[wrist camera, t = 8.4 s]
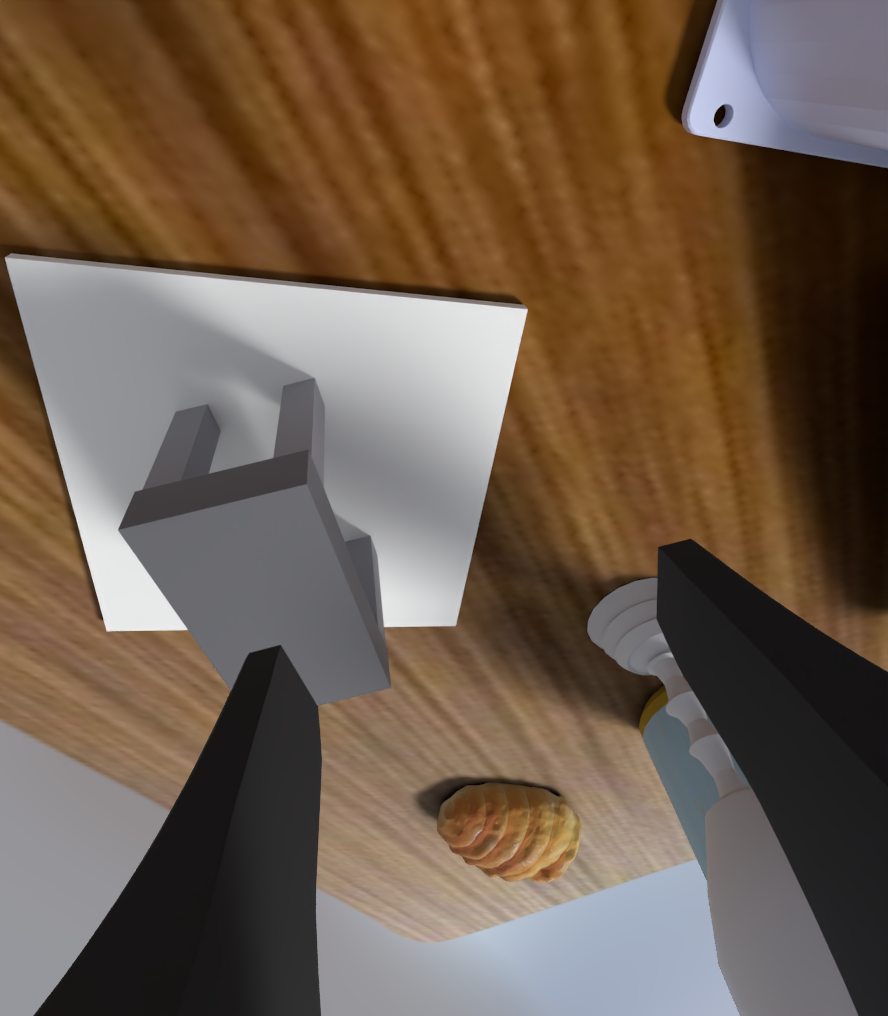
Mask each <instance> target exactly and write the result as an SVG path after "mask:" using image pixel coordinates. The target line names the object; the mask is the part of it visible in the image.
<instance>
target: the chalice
mask: <svg viewBox="0 0 888 1016" xmlns="http://www.w3.org/2000/svg"><path fill="white" fill-rule="evenodd" d="M656 615H657V578H648V579H643V580H638V581H634V582H632V583H629V584H627V585H624V586H622V587H619V588H618V589H616V590H615V591H613V592H612V593H610V594H609V595H607V596H606V597H604V598H603V599H602V600H601V602H600V603H599V604H598V605H597V606H596V607H595V608H594V609H593V611H592V613H591V615H590V617H589V619H588V628H587V632H588V634H589V636H590V638H591V641H592V642H594V643H595V644H596V645H598V646H599V647H600V648H602V649H604V651H605V653H606V654H608V655H609V656H610V657H611V658H613V659H614V660H616V661H617V663H618V664H619V665H620V666H621V667H623V668H624V669H626V670H628V671H631V672H633V673H636V674H639V675H654V676H658V678H659V679H660V680H661V681H662V682H663V684H664V685H665V688H666V691H667V695H668V699H669V701H668V703H667V705H666V712H667V714H669V715H670V716H673V717H676V718H678V719H679V720H680V721H681V722H682V723H683V724H684V725H685V726H686V727H687V728H688V733H689V737H690V742H691V743H690V749H689V753H690V755H692V756H693V757H695V758H697V759H699V760H700V761H701V762H702V764H703V765H704V766H705V768H706V769H707V770H708V771H709V773H710V774H711V775H712V777H713V778H714V780H715V783H716V786H717V790H718V793H719V796H720V799H719V800H718V801H717V802H716V803H714V804H713V805H712V806H711V808H710V809H709V810H708V811H707V812H706V816H705V834H706V860H707V885H708V898H709V905H710V912H711V918H712V924H713V931H714V938H715V944H716V950H717V957H718V964H719V967H720V969H721V972H722V974H723V976H724V979H725V981H726V983H727V986H728V988H729V990H730V993H731V995H732V998H733V1000H734V1002H735V1004H736V1007H737V1009H738V1012H739V1014H740V1016H858V1013H857V1011H856V1009H855V1006H854V1004H853V1002H852V999H851V997H850V995H849V992H848V990H847V988H846V985H845V983H844V981H843V978H842V976H841V974H840V972H839V970H838V967H837V965H836V963H835V961H834V958H833V956H832V954H831V952H830V950H829V947H828V945H827V943H826V941H825V938H824V936H823V934H822V932H821V930H820V927H819V925H818V923H817V921H816V919H815V916H814V914H813V912H812V910H811V908H810V906H809V903H808V901H807V899H806V897H805V895H804V893H803V891H802V889H801V887H800V884H799V882H798V880H797V878H796V876H795V874H794V872H793V870H792V868H791V865H790V863H789V861H788V859H787V857H786V855H785V853H784V851H783V849H782V847H781V845H780V843H779V841H778V839H777V837H776V835H775V833H774V831H773V829H772V827H771V825H770V823H769V821H768V819H767V817H766V815H765V812H764V810H763V808H762V806H761V804H760V802H759V800H758V799H757V797H756V795H755V793H754V792H753V790H752V788H751V787H749V786H748V785H747V784H746V783H745V781H744V780H743V779H742V778H741V776H740V775H739V774H738V773H737V772H736V770H735V768H734V765H733V762H732V759H731V756H730V753H729V750H728V748H727V746H726V745H725V743H724V741H723V740H722V738H721V736H720V735H719V733H718V732H717V730H716V729H715V728H714V727H713V726H712V725H711V724H710V723H709V722H708V720H707V716H706V712H705V710H704V709H703V707H702V706H701V704H700V702H699V701H698V699H697V697H696V696H695V694H694V692H693V691H692V689H691V687H690V686H689V684H688V682H687V681H686V680H685V679H684V678H683V675H682V672H681V671H680V669H679V667H678V665H677V663H676V661H675V659H674V657H673V655H672V652H671V650H670V648H669V646H668V644H667V642H666V639H665V637H664V635H663V633H662V630H661V628H660V626H659V624H658V622H657V619H656Z"/></svg>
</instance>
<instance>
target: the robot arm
mask: <svg viewBox="0 0 888 1016" xmlns="http://www.w3.org/2000/svg"><path fill="white" fill-rule="evenodd" d="M722 105H724V106H725V109H726V112H725V117H724V119H723V121H722V122H721V123H720V124H719V125H717V126H715V123H714V114H715V113H716V111H717V109H718V108H719V107H720V106H722ZM682 124H683V127H684V128H685V129H686V131H687V132H689V133H691V134H694V135H699V136H705V137H710V138H716V139H722V140H728V141H734V142H739V143H745V144H751V145H757V146H763V147H768V148H774V149H780V150H786V151H792V152H798V153H803V154H809V155H815V156H821V157H827V158H832V159H838V160H844V161H850V162H856V163H861V164H867V165H873V166H879V167H885V168H888V0H717V3H716V6H715V9H714V12H713V16H712V19H711V22H710V25H709V28H708V31H707V34H706V38H705V41H704V44H703V47H702V50H701V53H700V57H699V60H698V63H697V66H696V69H695V72H694V75H693V79H692V82H691V85H690V88H689V91H688V94H687V98H686V101H685V104H684V107H683V111H682ZM656 619H657V622H658V624H659V626H660V628H661V630H662V633H663V635H664V637H665V639H666V642H667V644H668V646H669V648H670V650H671V652H672V655H673V657H674V659H675V661H676V663H677V665H678V667H679V669H680V671H681V672H682V674H683V676H684V677H685V679H686V681H687V682H688V684H689V686H690V687H691V689H692V691H693V692H694V694H695V696H696V697H697V699H698V701H699V702H700V704H701V706H702V707H703V709H704V710H705V712H706V714H707V715H708V717H709V719H710V720H711V722H712V723H713V725H714V727H715V728H716V730H717V732H718V733H719V735H720V736H721V738H722V740H723V741H724V743H725V745H726V746H727V748H728V749H729V751H730V753H731V754H732V756H733V758H734V759H735V761H736V763H737V764H738V766H739V767H740V769H741V771H742V772H743V774H744V776H745V777H746V779H747V781H748V783H749V784H750V786H751V788H752V790H753V792H754V793H755V795H756V797H757V799H758V800H759V802H760V804H761V806H762V808H763V810H764V812H765V815H766V817H767V819H768V821H769V823H770V825H771V827H772V829H773V831H774V833H775V835H776V837H777V839H778V841H779V843H780V845H781V847H782V849H783V851H784V853H785V855H786V857H787V859H788V861H789V863H790V865H791V868H792V870H793V872H794V874H795V876H796V878H797V880H798V882H799V884H800V887H801V889H802V891H803V893H804V895H805V897H806V899H807V901H808V903H809V906H810V908H811V910H812V912H813V914H814V916H815V919H816V921H817V923H818V925H819V927H820V930H821V932H822V934H823V936H824V938H825V941H826V943H827V945H828V947H829V950H830V952H831V954H832V956H833V958H834V961H835V963H836V965H837V967H838V970H839V972H840V974H841V976H842V978H843V981H844V983H845V985H846V988H847V990H848V992H849V995H850V997H851V999H852V1002H853V1004H854V1006H855V1009H856V1011H857V1013H858V1016H888V672H887V671H885V670H883V669H882V668H880V667H878V666H877V665H875V664H873V663H871V662H870V661H868V660H866V659H865V658H863V657H861V656H860V655H858V654H856V653H855V652H853V651H852V650H850V649H848V648H847V647H845V646H843V645H842V644H840V643H839V642H837V641H835V640H834V639H832V638H831V637H829V636H827V635H826V634H824V633H823V632H821V631H820V630H818V629H817V628H815V627H814V626H812V625H810V624H809V623H807V622H806V621H804V620H803V619H802V618H800V617H799V616H797V615H796V614H794V613H793V612H791V611H790V610H788V609H787V608H785V607H784V606H782V605H781V604H780V603H778V602H777V601H775V600H774V599H772V598H771V597H769V596H768V595H767V594H765V593H764V592H762V591H761V590H760V589H758V588H757V587H755V586H754V585H753V584H751V583H750V582H749V581H747V580H746V579H744V578H743V577H742V576H740V575H739V574H738V573H736V572H735V571H734V570H732V569H731V568H730V567H728V566H727V565H726V564H724V563H723V562H722V561H720V560H719V559H718V558H716V557H715V556H714V555H712V554H711V553H710V552H708V551H707V550H706V549H704V548H703V547H702V546H700V545H699V544H698V543H696V542H695V541H693V540H692V539H688V540H684V541H680V542H676V543H673V544H669V545H665V546H661V547H658V577H657V615H656ZM321 766H322V756H321V739H320V726H319V714H318V706H317V704H316V702H315V701H314V699H313V697H312V696H311V694H310V692H309V691H308V689H307V687H306V686H305V684H304V682H303V681H302V679H301V677H300V676H299V674H298V672H297V671H296V669H295V667H294V666H293V664H292V662H291V661H290V659H289V657H288V656H287V654H286V652H285V651H284V649H283V648H282V646H281V645H278V646H274V647H270V648H266V649H262V650H258V651H254V652H251V653H249V654H248V656H247V657H246V659H245V661H244V663H243V665H242V668H241V670H240V672H239V674H238V676H237V679H236V681H235V683H234V685H233V688H232V690H231V692H230V694H229V696H228V698H227V701H226V703H225V705H224V707H223V709H222V711H221V714H220V716H219V718H218V720H217V722H216V724H215V726H214V728H213V730H212V732H211V734H210V736H209V739H208V741H207V743H206V745H205V747H204V749H203V751H202V753H201V755H200V757H199V759H198V761H197V763H196V765H195V767H194V769H193V771H192V773H191V775H190V776H189V778H188V780H187V782H186V784H185V786H184V788H183V789H182V791H181V793H180V795H179V797H178V799H177V800H176V802H175V804H174V806H173V808H172V809H171V811H170V813H169V815H168V817H167V819H166V820H165V822H164V824H163V826H162V828H161V830H160V831H159V833H158V835H157V836H156V838H155V840H154V841H153V843H152V845H151V846H150V848H149V850H148V851H147V853H146V855H145V856H144V858H143V860H142V861H141V863H140V865H139V866H138V868H137V869H136V871H135V873H134V874H133V876H132V877H131V879H130V880H129V882H128V884H127V885H126V887H125V888H124V890H123V891H122V893H121V895H120V896H119V898H118V899H117V901H116V902H115V904H114V905H113V907H112V908H111V910H110V911H109V912H108V914H107V915H106V917H105V918H104V920H103V921H102V923H101V924H100V926H99V927H98V929H97V930H96V931H95V933H94V935H93V936H92V937H91V939H90V940H89V942H88V943H87V945H86V946H85V947H84V949H83V950H82V952H81V953H80V954H79V956H78V957H77V959H76V960H75V962H74V963H73V964H72V966H71V967H70V968H69V970H68V971H67V973H66V974H65V975H64V977H63V978H62V979H61V981H60V982H59V984H58V985H57V986H56V987H55V989H54V990H53V991H52V992H51V994H50V995H49V996H48V998H47V999H46V1000H45V1002H44V1003H43V1004H42V1005H41V1007H40V1008H39V1009H38V1011H37V1012H36V1013H35V1015H34V1016H321V1009H320V993H319V976H318V954H317V931H316V875H317V854H318V834H319V813H320V791H321Z"/></svg>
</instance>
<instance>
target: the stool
mask: <svg viewBox="0 0 888 1016" xmlns="http://www.w3.org/2000/svg"><path fill="white" fill-rule="evenodd" d="M220 433H221V431H220V429H219V427H218V425H217V423H216V421H215V419H214V417H213V415H212V413H211V411H210V409H209V407H208V404H206V405H201V406H197V407H193V408H189V409H185V410H181V411H177V412H175V414H174V417H173V419H172V421H171V424H170V426H169V428H168V431H167V433H166V435H165V438H164V440H163V443H162V445H161V447H160V450H159V452H158V454H157V457H156V459H155V461H154V464H153V466H152V468H151V471H150V473H149V475H148V478H147V480H146V482H145V485H144V487H143V489H142V490H140V491H135V492H134V495H133V497H132V499H131V501H130V504H129V506H128V508H127V510H126V513H125V515H124V517H123V519H122V522H121V524H120V526H119V528H118V531H119V533H120V534H121V535H122V537H123V538H124V540H125V541H126V542H127V544H128V545H129V547H130V548H131V550H132V551H133V552H134V554H135V555H136V557H137V558H138V560H139V561H140V562H141V564H142V565H143V567H144V568H145V569H146V571H147V572H148V574H149V575H150V577H151V578H152V579H153V581H154V582H155V584H156V585H157V587H158V588H159V589H160V591H161V592H162V594H163V595H164V596H165V598H166V599H167V601H168V602H169V604H170V605H171V606H172V608H173V609H174V611H175V612H176V614H177V615H178V616H179V618H180V619H181V621H182V622H183V623H184V625H185V626H186V628H187V629H188V631H189V632H190V633H191V635H192V636H193V638H194V639H195V641H196V642H197V643H198V645H199V646H200V648H201V649H202V650H203V652H204V653H205V655H206V656H207V658H208V659H209V660H210V662H211V663H212V665H213V666H214V668H215V669H216V670H217V672H218V673H219V675H220V676H221V677H222V679H223V680H224V682H225V683H226V685H227V686H228V687H229V689H230V690H232V688H233V685H234V683H235V681H236V679H237V676H238V674H239V672H240V670H241V668H242V665H243V663H244V661H245V659H246V657H247V656H248V654H249V653H251V652H254V651H258V650H262V649H266V648H270V647H274V646H278V645H281V646H282V648H283V649H284V651H285V652H286V654H287V656H288V657H289V659H290V661H291V662H292V664H293V666H294V667H295V669H296V671H297V672H298V674H299V676H300V677H301V679H302V681H303V682H304V684H305V686H306V687H307V689H308V691H309V692H310V694H311V696H312V697H313V699H314V701H315V702H316V704H317V706H319V705H323V704H327V703H331V702H335V701H339V700H343V699H347V698H351V697H356V696H360V695H364V694H368V693H372V692H376V691H380V690H384V689H388V688H391V683H390V673H389V662H388V652H387V648H386V642H385V632H384V621H383V610H382V599H381V589H380V578H379V567H378V556H377V552H376V550H375V547H374V544H373V541H372V538H371V536H367V537H363V538H359V539H355V540H351V541H347V542H345V541H344V538H343V536H342V533H341V531H340V528H339V525H338V523H337V520H336V518H335V515H334V513H333V510H332V508H331V505H330V503H329V500H328V497H327V495H326V492H325V490H324V433H325V405H324V402H323V399H322V397H321V394H320V391H319V388H318V385H317V382H316V380H315V378H313V379H309V380H305V381H301V382H296V383H292V384H288V385H284V386H283V391H282V398H281V406H280V413H279V420H278V427H277V434H276V441H275V448H274V456H273V458H271V459H267V460H263V461H259V462H255V463H251V464H247V465H243V466H238V467H234V468H230V469H226V470H222V471H218V472H214V473H210V474H209V471H210V467H211V464H212V460H213V457H214V453H215V450H216V446H217V443H218V440H219V436H220Z"/></svg>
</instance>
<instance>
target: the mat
mask: <svg viewBox="0 0 888 1016" xmlns="http://www.w3.org/2000/svg"><path fill="white" fill-rule="evenodd" d="M5 261H6V264H7V268H8V272H9V275H10V279H11V283H12V286H13V290H14V294H15V297H16V301H17V305H18V308H19V312H20V316H21V319H22V323H23V326H24V330H25V334H26V337H27V341H28V345H29V348H30V352H31V356H32V359H33V363H34V367H35V370H36V374H37V378H38V381H39V385H40V389H41V392H42V396H43V400H44V403H45V407H46V411H47V414H48V418H49V422H50V425H51V429H52V433H53V436H54V440H55V443H56V447H57V451H58V454H59V458H60V462H61V465H62V469H63V473H64V476H65V480H66V484H67V487H68V491H69V495H70V498H71V502H72V506H73V509H74V513H75V517H76V520H77V524H78V528H79V531H80V535H81V539H82V542H83V546H84V550H85V553H86V557H87V560H88V564H89V568H90V571H91V575H92V579H93V582H94V586H95V590H96V593H97V597H98V601H99V604H100V608H101V612H102V615H103V619H104V623H105V626H106V630H107V631H150V630H188V629H187V628H186V626H185V625H184V623H183V622H182V621H181V619H180V618H179V616H178V615H177V614H176V612H175V611H174V609H173V608H172V606H171V605H170V604H169V602H168V601H167V599H166V598H165V596H164V595H163V594H162V592H161V591H160V589H159V588H158V587H157V585H156V584H155V582H154V581H153V579H152V578H151V577H150V575H149V574H148V572H147V571H146V569H145V568H144V567H143V565H142V564H141V562H140V561H139V560H138V558H137V557H136V555H135V554H134V552H133V551H132V550H131V548H130V547H129V545H128V544H127V542H126V541H125V540H124V538H123V537H122V535H121V534H120V533H119V531H118V528H119V526H120V524H121V522H122V519H123V517H124V515H125V513H126V510H127V508H128V506H129V504H130V501H131V499H132V497H133V495H134V492H135V491H140V490H142V489H143V487H144V485H145V482H146V480H147V478H148V475H149V473H150V471H151V468H152V466H153V464H154V461H155V459H156V457H157V454H158V452H159V450H160V447H161V445H162V443H163V440H164V438H165V435H166V433H167V431H168V428H169V426H170V424H171V421H172V419H173V417H174V414H175V412H177V411H181V410H185V409H189V408H193V407H197V406H201V405H206V404H208V407H209V409H210V411H211V413H212V415H213V417H214V419H215V421H216V423H217V425H218V427H219V429H220V431H221V433H220V436H219V440H218V443H217V446H216V450H215V453H214V457H213V460H212V464H211V467H210V471H209V474H210V473H214V472H218V471H222V470H226V469H230V468H234V467H238V466H243V465H247V464H251V463H255V462H259V461H263V460H267V459H271V458H273V456H274V448H275V441H276V434H277V427H278V420H279V413H280V406H281V398H282V391H283V386H284V385H288V384H292V383H296V382H301V381H305V380H309V379H313V378H315V380H316V382H317V385H318V388H319V391H320V394H321V397H322V399H323V402H324V405H325V433H324V490H325V492H326V495H327V497H328V500H329V503H330V505H331V508H332V510H333V513H334V515H335V518H336V520H337V523H338V525H339V528H340V531H341V533H342V536H343V538H344V541H345V542H347V541H351V540H355V539H359V538H363V537H367V536H371V538H372V541H373V544H374V547H375V550H376V552H377V556H378V567H379V578H380V589H381V599H382V610H383V621H384V627H415V626H456V623H457V618H458V614H459V609H460V605H461V601H462V596H463V592H464V587H465V583H466V579H467V574H468V570H469V565H470V561H471V557H472V552H473V548H474V543H475V539H476V535H477V530H478V526H479V521H480V517H481V513H482V508H483V504H484V499H485V495H486V490H487V486H488V482H489V477H490V473H491V468H492V464H493V460H494V455H495V451H496V446H497V442H498V438H499V433H500V429H501V424H502V420H503V416H504V411H505V407H506V402H507V398H508V394H509V389H510V385H511V380H512V376H513V372H514V367H515V363H516V358H517V354H518V350H519V345H520V341H521V336H522V332H523V328H524V323H525V319H526V314H527V310H528V309H527V308H526V306H525V305H521V304H511V303H501V302H491V301H481V300H471V299H461V298H451V297H441V296H431V295H421V294H411V293H401V292H391V291H381V290H371V289H361V288H351V287H341V286H331V285H321V284H311V283H301V282H291V281H281V280H271V279H261V278H251V277H241V276H231V275H222V274H212V273H202V272H192V271H182V270H172V269H162V268H152V267H142V266H132V265H122V264H112V263H102V262H92V261H82V260H72V259H62V258H52V257H42V256H32V255H22V254H12V253H11V254H10V255H8V256H6V257H5Z"/></svg>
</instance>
